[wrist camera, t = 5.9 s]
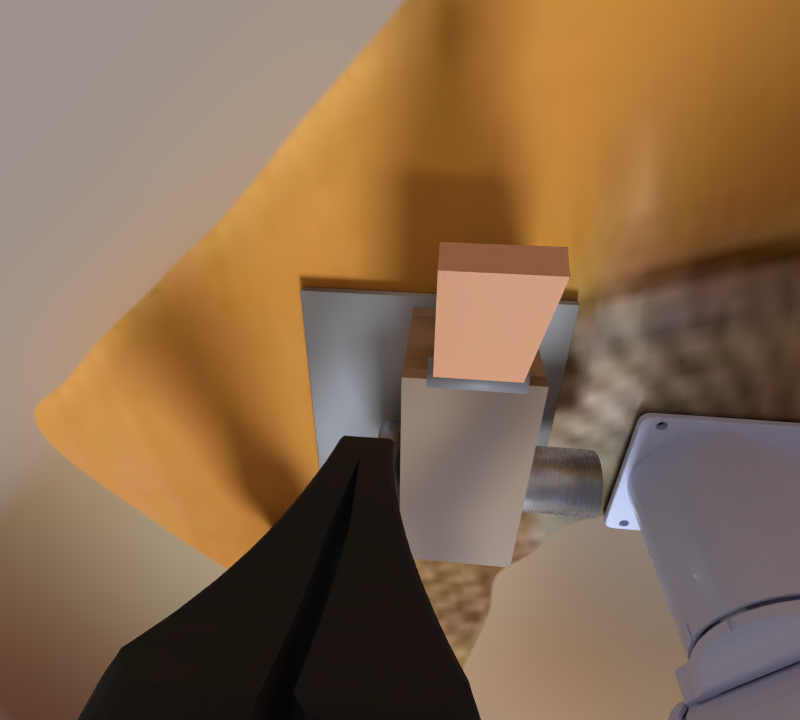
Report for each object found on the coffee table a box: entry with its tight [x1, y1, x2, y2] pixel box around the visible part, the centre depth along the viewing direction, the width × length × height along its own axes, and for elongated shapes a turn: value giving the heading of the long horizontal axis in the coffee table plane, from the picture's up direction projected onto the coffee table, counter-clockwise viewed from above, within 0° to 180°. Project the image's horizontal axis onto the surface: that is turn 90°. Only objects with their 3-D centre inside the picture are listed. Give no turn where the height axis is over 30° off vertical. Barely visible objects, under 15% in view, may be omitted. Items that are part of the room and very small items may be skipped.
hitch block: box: [301, 287, 580, 567], centre depth 23 cm, size 12×12×6 cm
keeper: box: [426, 242, 570, 394], centre depth 14 cm, size 3×6×1 cm, turn 0°
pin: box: [378, 419, 603, 518], centre depth 23 cm, size 10×4×4 cm, turn 90°
